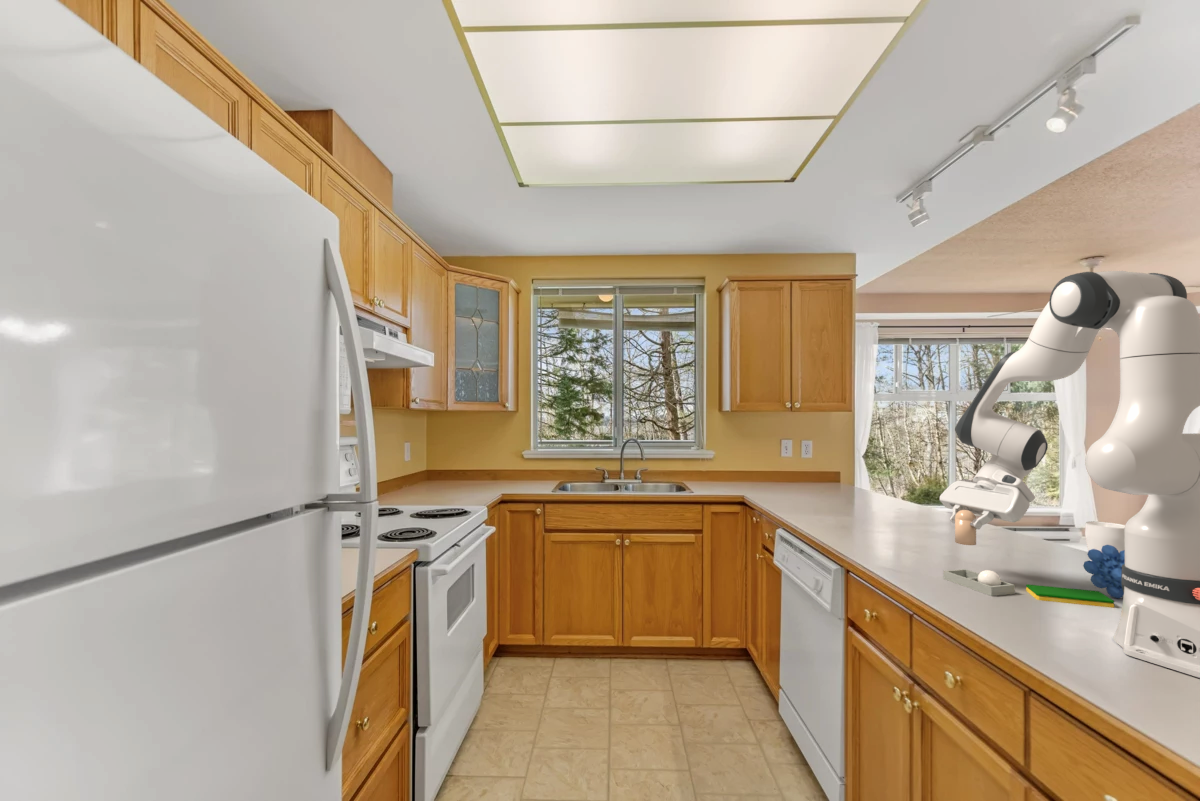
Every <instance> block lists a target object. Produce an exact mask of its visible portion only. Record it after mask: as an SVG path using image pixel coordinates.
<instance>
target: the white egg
mask: <svg viewBox="0 0 1200 801" xmlns="http://www.w3.org/2000/svg"><path fill="white" fill-rule="evenodd" d="M978 573H979V575H978V582H980V583H983V584H986V585H989V586H998V585H1001V581H1002V579H1001V577H1000V575H999V574H998V573H997V572H995V571H994V570H989V569H986V570H985V569H984V570H981V571H980V572H978Z"/></svg>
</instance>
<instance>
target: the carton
mask: <svg viewBox="0 0 1200 801" xmlns="http://www.w3.org/2000/svg"><path fill="white" fill-rule="evenodd" d="M979 573H980V572H976V571H972V570H970V569H966V568H960V569H951V570H948V569H947V570H943V578H942V579H943V580H944V581H947V582H951V583H953V584H957V585H959V586H962V587H965V588H966V589H970V590H973V591H976V592H979V593H982V594H984V595H987V596H990V597H996V596H1005V595H1006V596H1007V595H1015V594H1016V592H1015V591H1016V589H1015V587H1016V586H1015V584H1013V583H1010V582H1006V581H1005V580H1001V585H998V586H989V585H986V584H983V583H980V582H978V575H979Z"/></svg>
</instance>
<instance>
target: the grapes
mask: <svg viewBox="0 0 1200 801" xmlns="http://www.w3.org/2000/svg"><path fill="white" fill-rule="evenodd" d="M1101 551H1102V552H1101ZM1101 551H1099V550H1096V549H1091V550H1089V551H1088V550H1087V557H1088V558H1090V559H1091V560H1092V561H1090V559H1089V560H1086V561H1084V563H1083V565H1082V567H1083V569H1084V570H1085V571H1086V572H1087V573H1088V574H1091V577H1090V581H1091V583H1092V585H1093V586H1095V588H1099V589H1105V588H1106V589H1105V590H1106V593H1107V594H1108V595H1109V596H1111V597H1112V598H1114V599H1121V598H1123V597H1124V592H1123V589H1122V583H1121V574H1122V565H1123V564H1125V550H1123V551H1120V553H1119V552H1118V550H1117V549H1116V548H1115V547H1114V546H1111V545H1105V546H1103V547H1102V549H1101Z"/></svg>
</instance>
